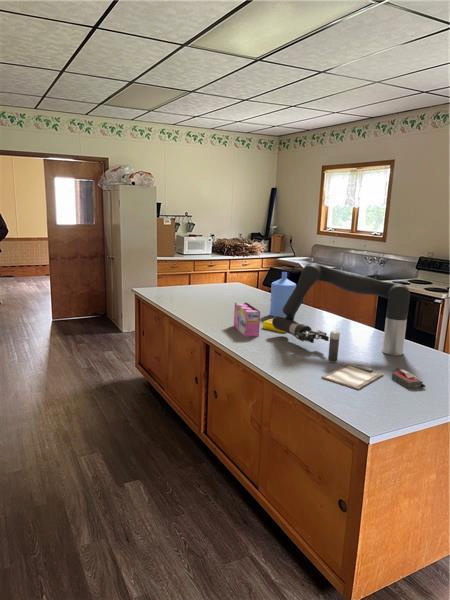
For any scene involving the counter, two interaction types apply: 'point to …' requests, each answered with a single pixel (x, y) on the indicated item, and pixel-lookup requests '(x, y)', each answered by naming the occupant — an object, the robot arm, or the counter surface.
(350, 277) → the robot arm
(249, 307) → the pink multipack package
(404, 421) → the counter surface
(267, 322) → the element tile
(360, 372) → the clipboard
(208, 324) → the counter surface
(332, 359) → the bottle
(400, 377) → the walkie-talkie
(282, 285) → the water jug
